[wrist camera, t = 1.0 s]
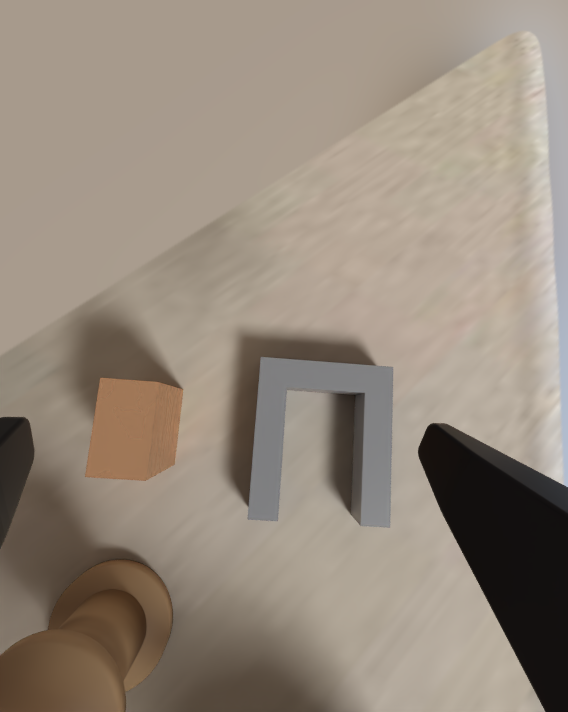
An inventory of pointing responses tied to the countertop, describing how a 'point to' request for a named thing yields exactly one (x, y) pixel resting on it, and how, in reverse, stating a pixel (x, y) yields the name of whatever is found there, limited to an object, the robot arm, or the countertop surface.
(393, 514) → the countertop surface
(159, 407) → the orange tan block
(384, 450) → the grey u-shaped frame
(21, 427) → the robot arm
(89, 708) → the knob
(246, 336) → the countertop surface
